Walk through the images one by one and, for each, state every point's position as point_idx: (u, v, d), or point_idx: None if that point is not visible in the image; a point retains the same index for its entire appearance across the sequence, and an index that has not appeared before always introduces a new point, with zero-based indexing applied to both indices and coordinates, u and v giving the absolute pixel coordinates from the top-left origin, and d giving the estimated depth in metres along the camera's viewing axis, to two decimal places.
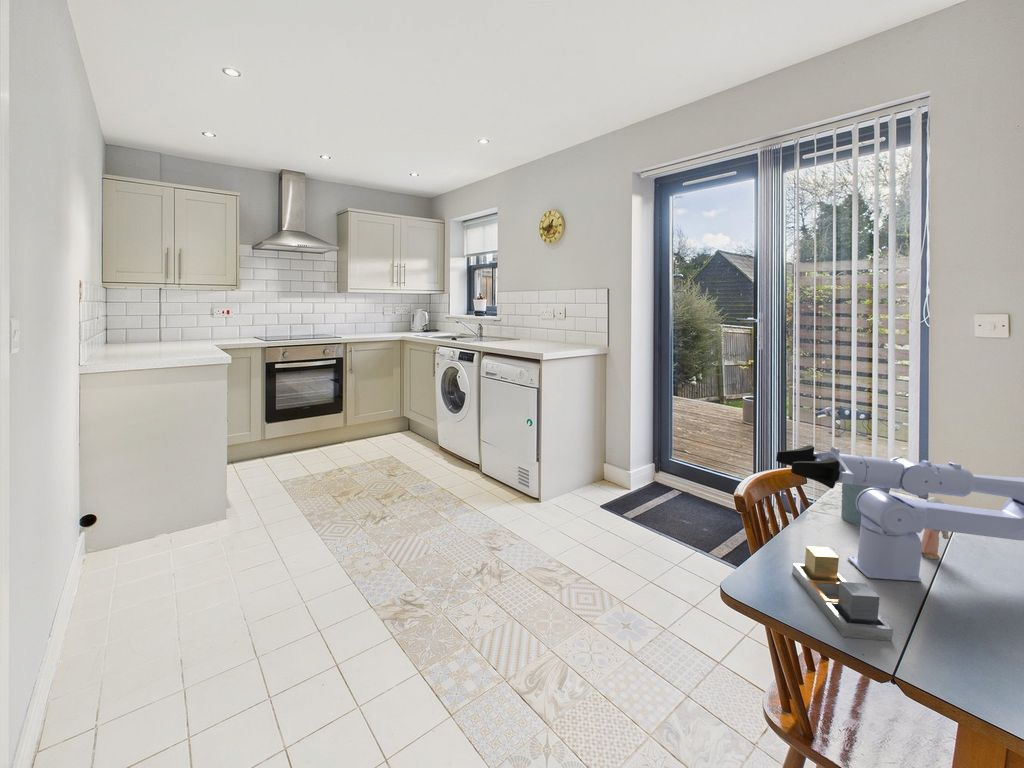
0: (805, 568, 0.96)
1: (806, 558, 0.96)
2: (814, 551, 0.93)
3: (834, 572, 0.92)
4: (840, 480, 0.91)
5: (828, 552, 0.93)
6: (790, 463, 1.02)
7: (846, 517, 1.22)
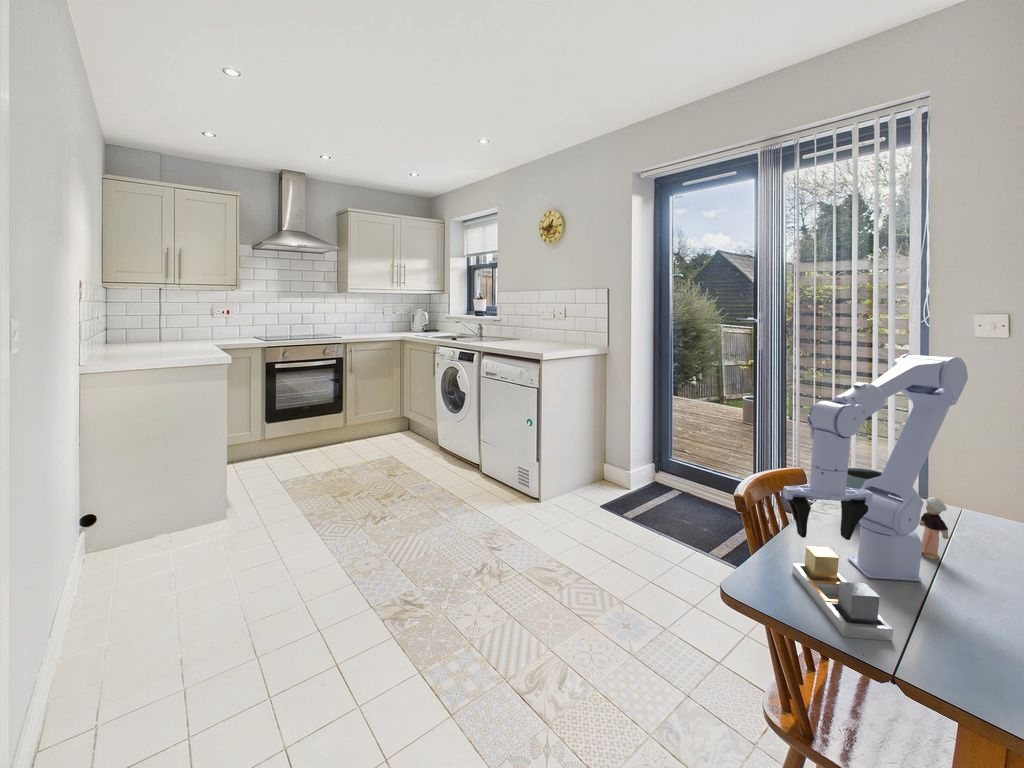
0: (805, 568, 0.96)
1: (806, 558, 0.96)
2: (814, 551, 0.93)
3: (834, 572, 0.92)
4: None
5: (828, 552, 0.93)
6: None
7: None
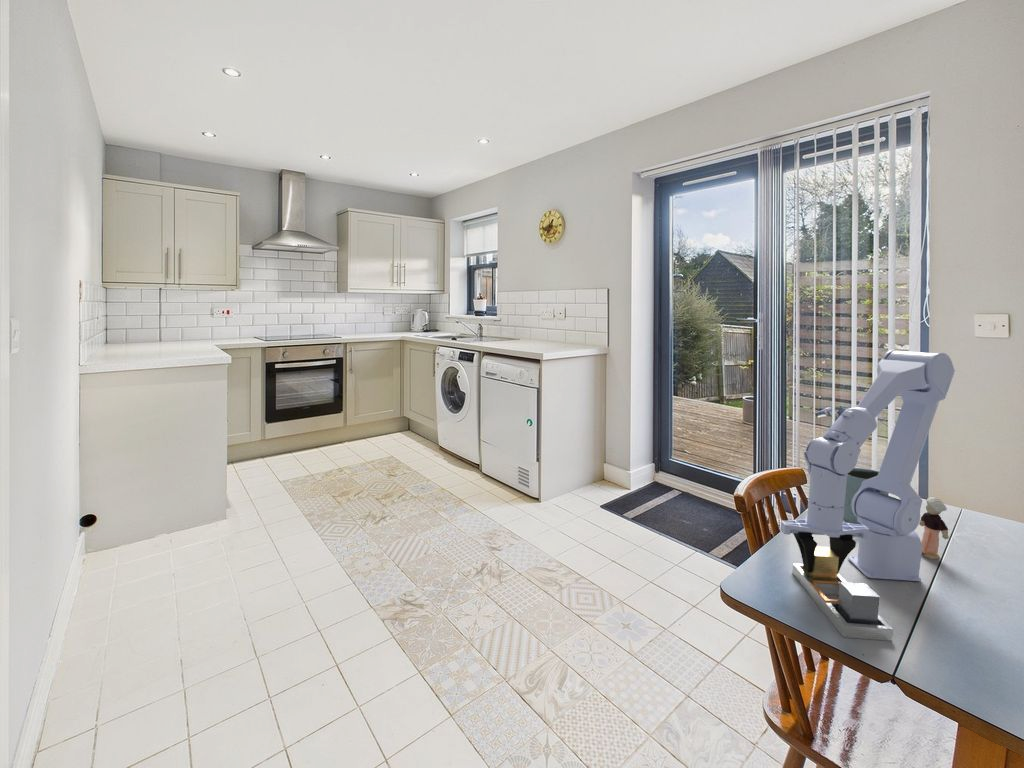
0: None
1: None
2: None
3: (834, 572, 0.92)
4: None
5: (828, 552, 0.93)
6: None
7: (846, 517, 1.22)
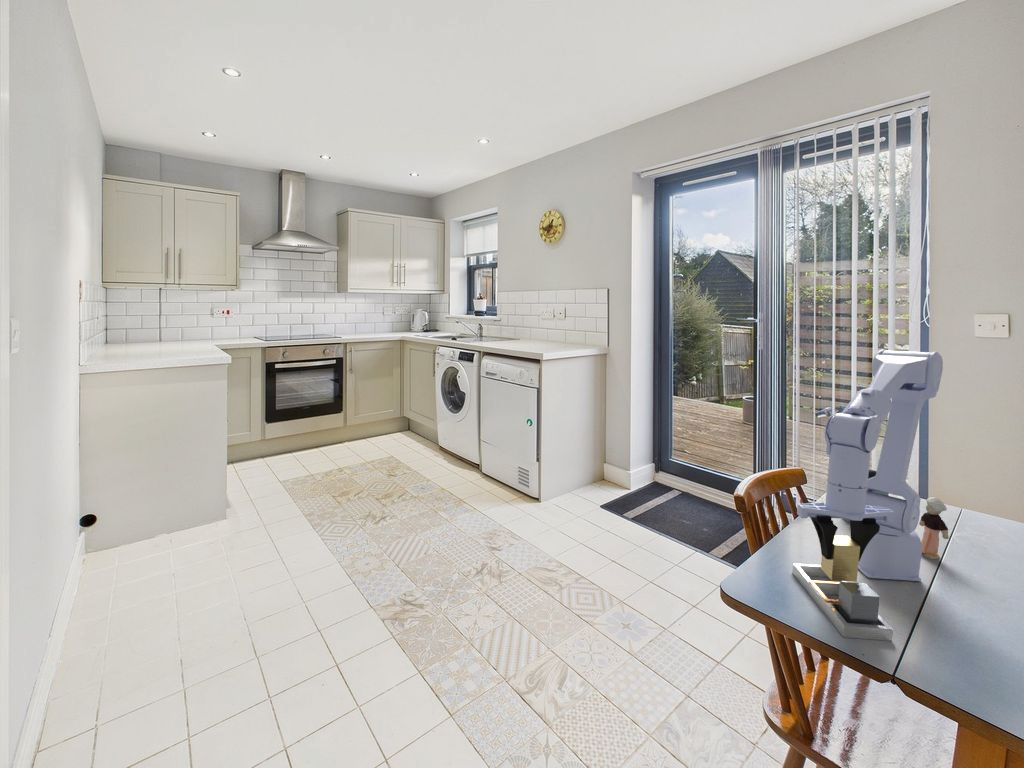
0: (823, 558, 0.89)
1: None
2: None
3: (855, 562, 0.85)
4: None
5: (848, 541, 0.86)
6: None
7: None
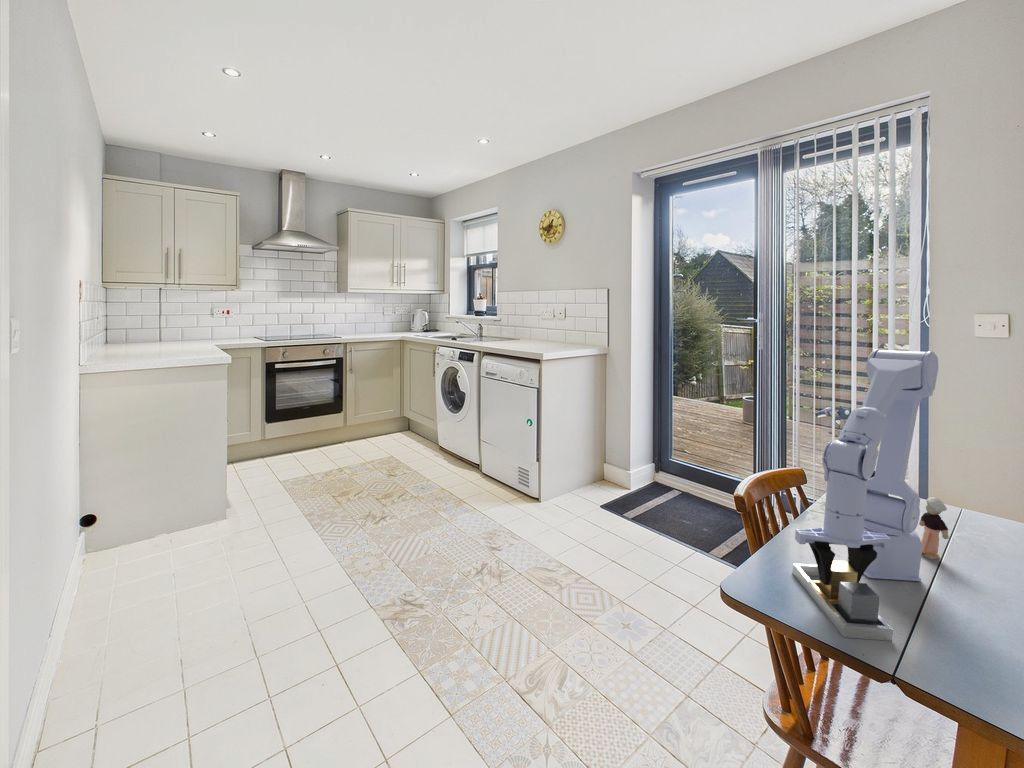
0: (821, 583, 0.90)
1: None
2: (831, 566, 0.87)
3: None
4: None
5: (846, 566, 0.87)
6: None
7: None
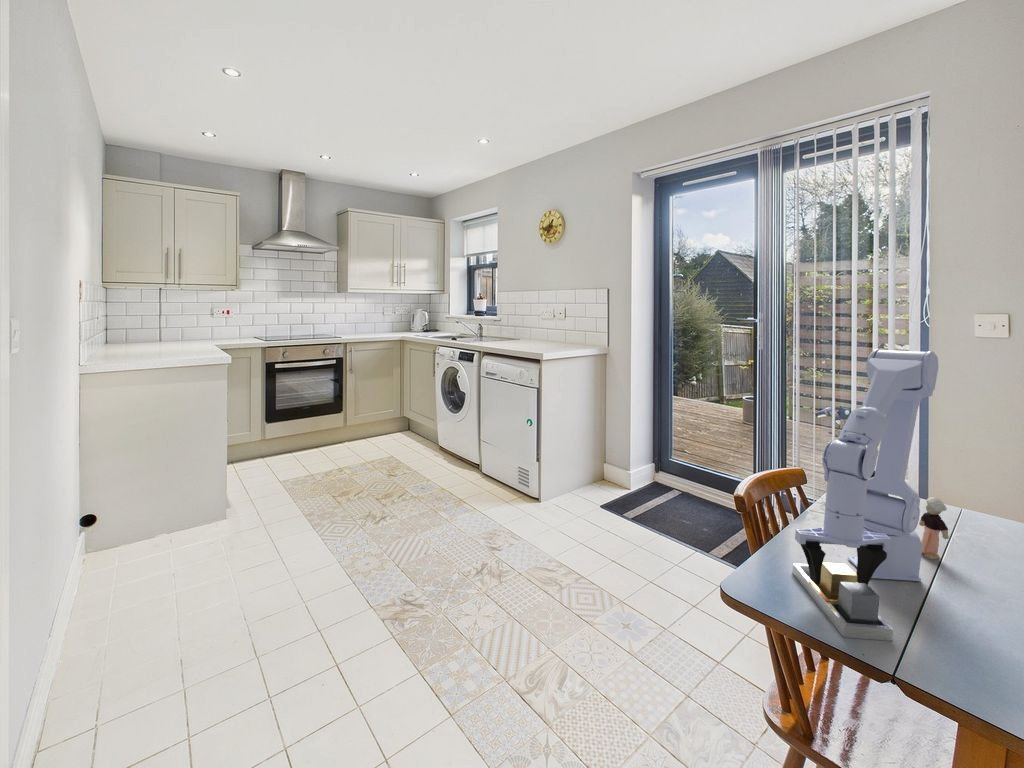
0: (820, 585, 0.90)
1: (821, 575, 0.89)
2: (831, 568, 0.87)
3: None
4: None
5: (845, 569, 0.87)
6: None
7: None
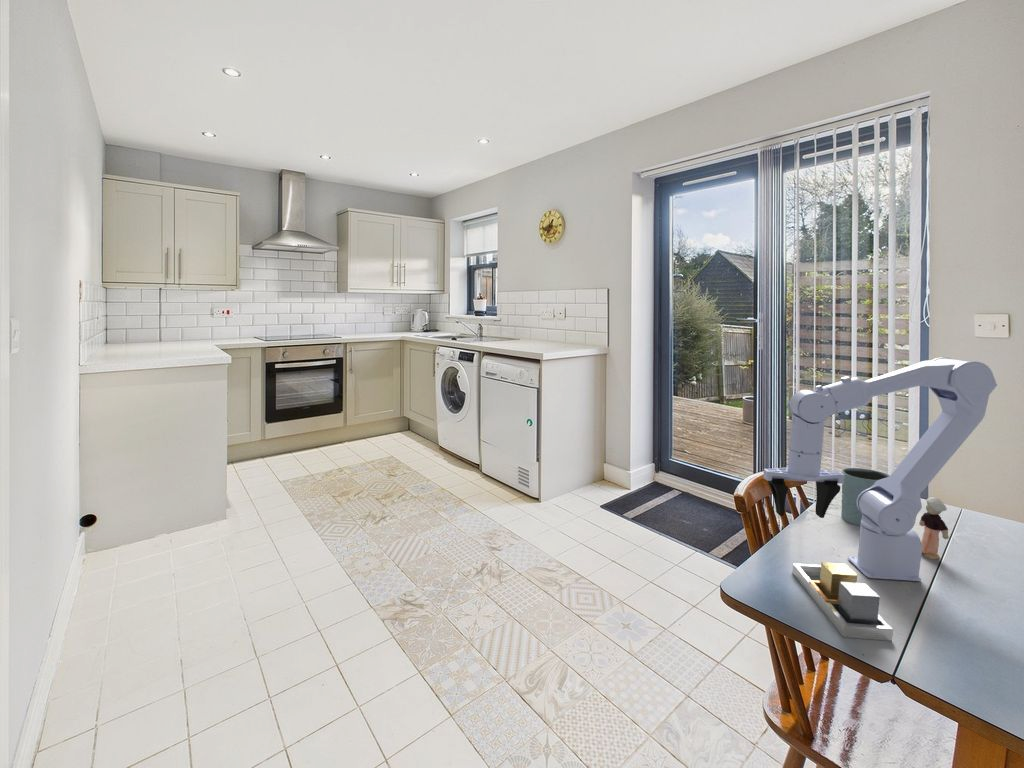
0: (820, 585, 0.90)
1: (821, 575, 0.89)
2: (830, 568, 0.87)
3: None
4: None
5: (845, 569, 0.87)
6: None
7: (846, 517, 1.22)
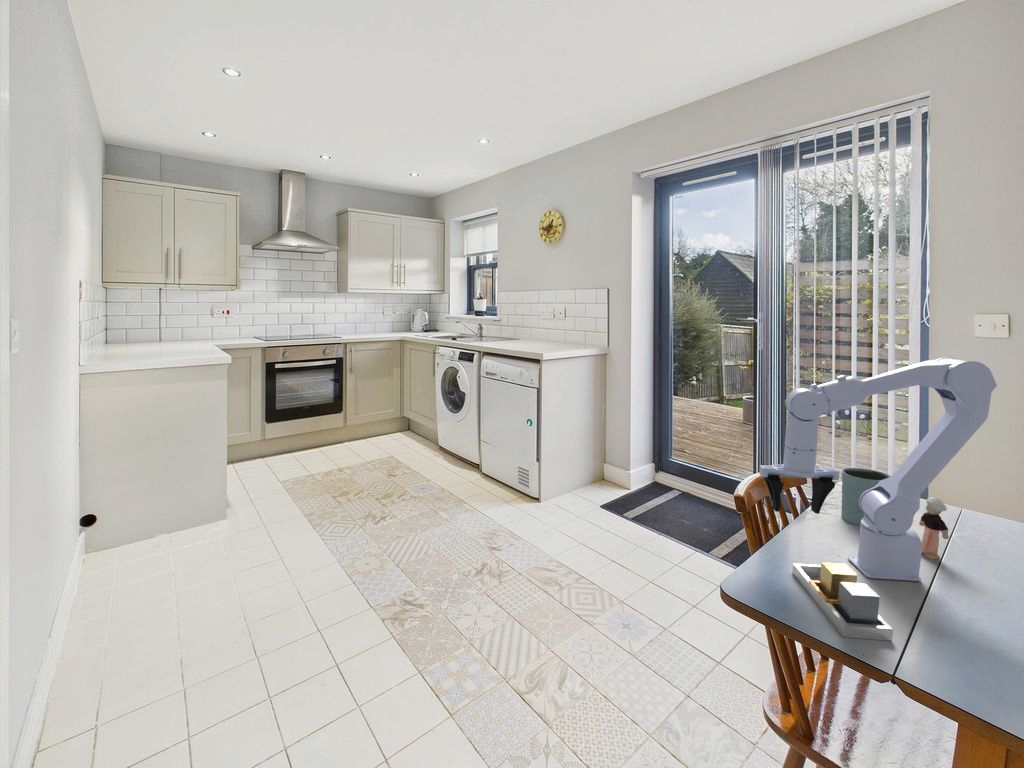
0: (820, 585, 0.90)
1: (821, 575, 0.89)
2: (830, 568, 0.87)
3: None
4: None
5: (845, 569, 0.87)
6: None
7: (846, 517, 1.22)
